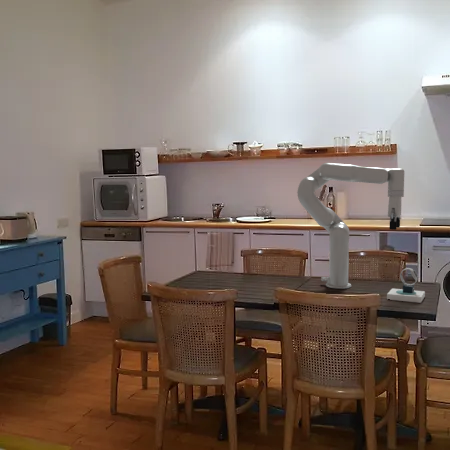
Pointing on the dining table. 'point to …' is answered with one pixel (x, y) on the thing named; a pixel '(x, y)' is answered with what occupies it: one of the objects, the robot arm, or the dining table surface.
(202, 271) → the dining table surface
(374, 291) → the dining table surface
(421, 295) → the charging dock
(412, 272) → the watch
